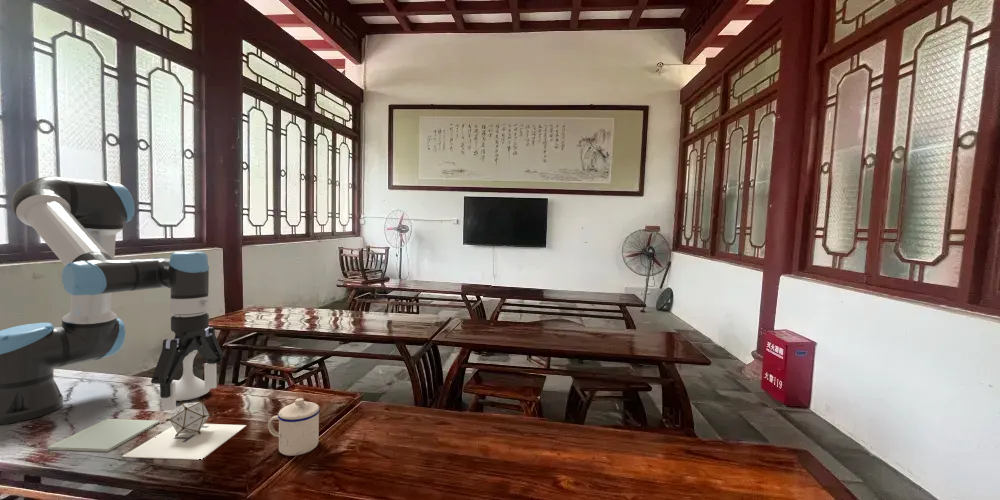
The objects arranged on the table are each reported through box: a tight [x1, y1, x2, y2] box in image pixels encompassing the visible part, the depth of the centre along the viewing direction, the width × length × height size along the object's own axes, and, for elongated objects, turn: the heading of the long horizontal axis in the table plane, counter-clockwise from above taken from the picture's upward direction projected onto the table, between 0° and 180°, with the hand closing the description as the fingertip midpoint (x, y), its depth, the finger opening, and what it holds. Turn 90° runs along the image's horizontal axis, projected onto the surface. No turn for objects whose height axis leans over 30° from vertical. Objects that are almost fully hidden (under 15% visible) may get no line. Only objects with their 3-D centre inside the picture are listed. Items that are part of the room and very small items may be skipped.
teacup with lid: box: [267, 397, 321, 457], centre depth 98 cm, size 12×9×12 cm
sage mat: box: [47, 418, 161, 453], centre depth 100 cm, size 14×14×1 cm
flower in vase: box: [175, 350, 212, 402], centre depth 124 cm, size 13×11×25 cm
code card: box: [121, 423, 247, 461], centre depth 99 cm, size 18×16×1 cm
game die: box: [165, 398, 214, 437], centre depth 102 cm, size 9×8×10 cm
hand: (191, 398), depth 102 cm, fingers open, 13 cm apart
